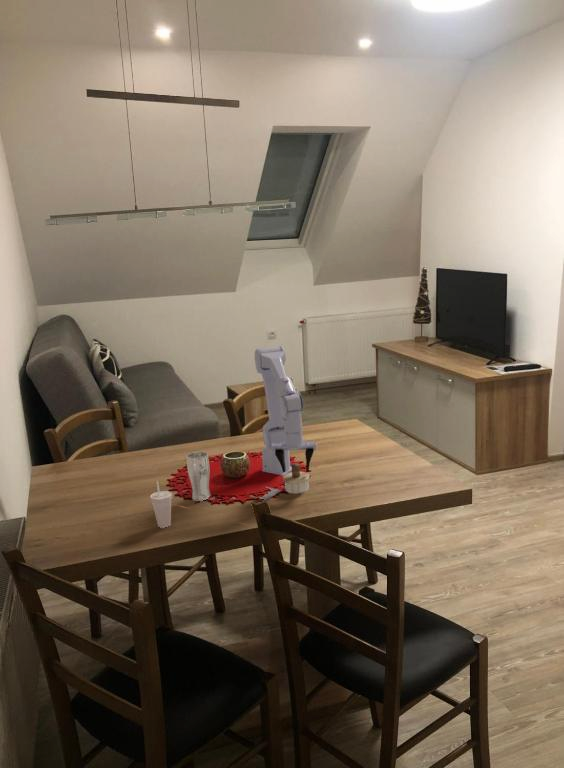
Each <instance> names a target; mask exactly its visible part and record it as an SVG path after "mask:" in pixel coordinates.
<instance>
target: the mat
mask: <svg viewBox="0 0 564 768" xmlns="http://www.w3.org/2000/svg"><path fill="white" fill-rule="evenodd" d="M265 487H266V488H269V489H270V490H271V492H268V494H265V495H264V496H263V497H259V498H260V499H264V500H263V501H264V502H266V501H267V500H269V499H271V498H272V497H273V496H274V497H275V496H276V495H277V494H279V493H280V492H283V490H281V489H278V488H277V489H276V488H273V487H268V486H265ZM256 498H257V497H256ZM256 498H255V499H256ZM260 499H259V500H260Z"/></svg>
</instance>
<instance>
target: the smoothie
mask: <svg viewBox="0 0 564 768" xmlns="http://www.w3.org/2000/svg"><path fill="white" fill-rule="evenodd" d="M156 489H157V491H156V492H153V493H152V494H150V496H149V497H150V498H149V500H150V502H151V503H152V507H153V511H154V516H155V519H156V523H157V527H158V528H159V527H160V529H166V528H165V527H167V528H169V527H171V525H172V498H173V493H172V492H171V491H169V490H160V485H159V480H157V481H156ZM168 526H169V527H168Z"/></svg>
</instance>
